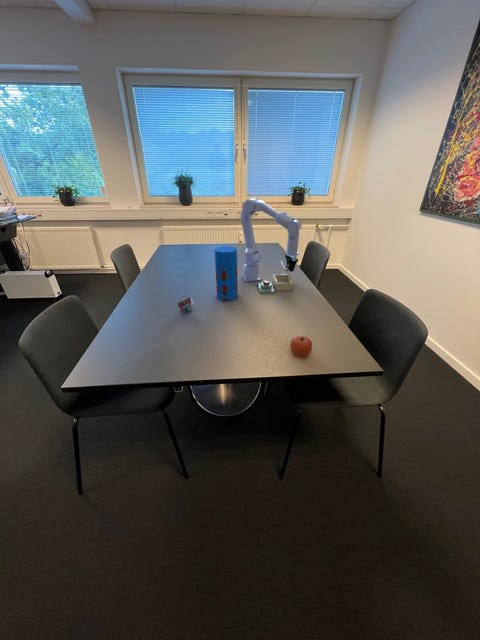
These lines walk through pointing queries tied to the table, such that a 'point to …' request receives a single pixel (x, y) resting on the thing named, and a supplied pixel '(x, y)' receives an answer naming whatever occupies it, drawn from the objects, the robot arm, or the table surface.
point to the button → (266, 282)
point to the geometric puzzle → (185, 303)
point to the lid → (287, 270)
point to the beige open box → (283, 282)
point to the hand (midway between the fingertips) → (290, 269)
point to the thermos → (226, 272)
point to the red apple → (301, 345)
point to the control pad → (266, 288)
